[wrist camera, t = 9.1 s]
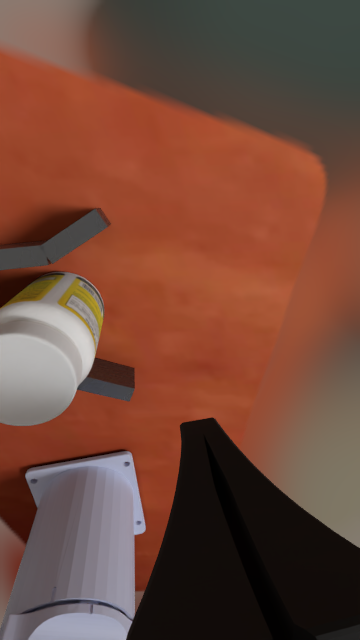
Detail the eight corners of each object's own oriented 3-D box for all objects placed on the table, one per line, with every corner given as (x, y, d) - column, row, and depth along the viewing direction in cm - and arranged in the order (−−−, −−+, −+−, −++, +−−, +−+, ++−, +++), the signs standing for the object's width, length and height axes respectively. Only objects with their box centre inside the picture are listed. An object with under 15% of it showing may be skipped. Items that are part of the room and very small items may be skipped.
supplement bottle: (18, 330, 18) (-64, 422, 11) (33, 259, 17) (-50, 305, 9) (95, 349, 20) (71, 443, 12) (114, 284, 18) (101, 343, 10)
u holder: (136, 378, 21) (136, 400, 19) (3, 398, 20) (-14, 424, 18) (108, 207, 17) (104, 207, 14) (-64, 222, 16) (-97, 225, 13)
